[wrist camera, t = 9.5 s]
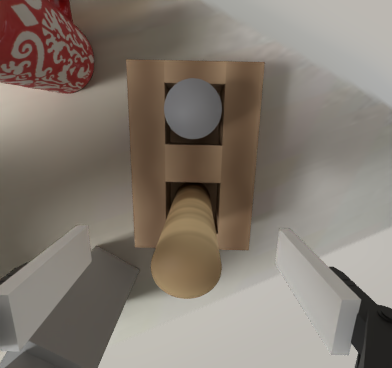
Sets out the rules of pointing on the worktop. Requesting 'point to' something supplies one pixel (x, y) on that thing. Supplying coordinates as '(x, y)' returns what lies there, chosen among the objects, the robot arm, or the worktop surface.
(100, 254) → the perfume bottle
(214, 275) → the oak dowel
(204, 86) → the charcoal dowel
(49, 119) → the worktop surface
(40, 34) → the mug
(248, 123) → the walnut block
